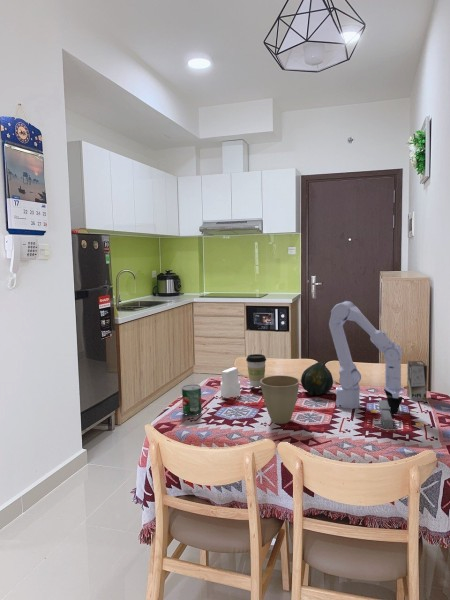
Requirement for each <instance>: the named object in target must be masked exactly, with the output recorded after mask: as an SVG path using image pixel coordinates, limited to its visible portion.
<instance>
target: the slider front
mask: <svg viewBox="0 0 450 600" xmlns="http://www.w3.org/2000/svg"><path fill="white" fill-rule="evenodd" d="M380 421H381V424H382V427H383V428H384V429H394V427H393V425H394V420H393V417H392V414H391V411H390V412H389V411H387V410H381V412H380Z"/></svg>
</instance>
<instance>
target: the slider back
mask: <svg viewBox="0 0 450 600" xmlns="http://www.w3.org/2000/svg"><path fill="white" fill-rule="evenodd" d="M378 408H379V411H380V413H381V410H387V411H389V412H390V413H391V410H390V407H389V404H388V401H387V399H386V400H385V399H379V401H378Z"/></svg>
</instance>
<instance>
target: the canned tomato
mask: <svg viewBox="0 0 450 600" xmlns="http://www.w3.org/2000/svg"><path fill="white" fill-rule="evenodd" d="M181 397H182V398H181V399H182V402H181V403H182V414H183V413H184V414H187V415H197V414H200V413H201V412H203V411H202V409H203V408H202V386H201V385H198V384H186V385H183V386H182V387H181ZM184 414H183V415H184ZM201 414H202V413H201ZM201 414H200V415H201ZM197 416H198V415H197Z"/></svg>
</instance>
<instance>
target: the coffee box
mask: <svg viewBox="0 0 450 600" xmlns="http://www.w3.org/2000/svg"><path fill="white" fill-rule="evenodd" d="M406 363H407V365H406V366H407V368H406V369H407V370H406V375H407V377H406V380H407V381H406V385H407V386H406V391H407V392H406V396H407V397H408V398H409V400H410V401H419V402H423V401H425V402H426V401H427V392H428V391H427V384H428V382H427V381H428V380H427V379H428V365H426V363H424V362H423V361H422V360H413V361H411V360H409V361H408V360H407V362H406Z"/></svg>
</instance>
